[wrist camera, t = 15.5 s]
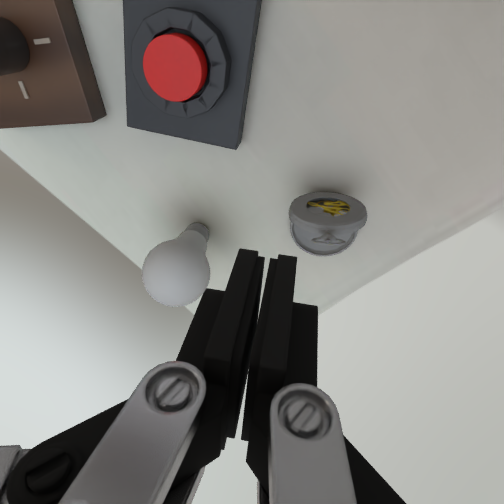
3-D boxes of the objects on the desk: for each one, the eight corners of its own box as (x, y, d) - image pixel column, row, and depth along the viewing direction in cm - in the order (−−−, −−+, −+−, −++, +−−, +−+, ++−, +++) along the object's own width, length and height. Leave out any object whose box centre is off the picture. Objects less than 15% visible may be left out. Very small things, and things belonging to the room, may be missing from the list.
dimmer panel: (-68, -43, 30) (-99, -47, 28) (53, -64, 28) (30, -70, 26) (6, 122, 37) (-14, 130, 35) (107, 115, 35) (92, 122, 33)
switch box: (134, -41, 28) (108, -47, 24) (263, -16, 27) (256, -18, 24) (137, 120, 35) (117, 132, 31) (240, 142, 34) (232, 157, 31)
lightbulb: (204, 261, 43) (173, 331, 34) (162, 228, 41) (117, 291, 32) (238, 230, 40) (214, 297, 31) (194, 193, 38) (154, 252, 29)
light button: (151, 27, 27) (142, 28, 25) (210, 39, 27) (204, 41, 25) (151, 91, 29) (142, 95, 28) (205, 102, 29) (199, 107, 28)
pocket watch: (311, 260, 40) (308, 325, 32) (269, 199, 37) (254, 255, 29) (383, 228, 37) (401, 292, 29) (344, 158, 34) (351, 207, 25)
